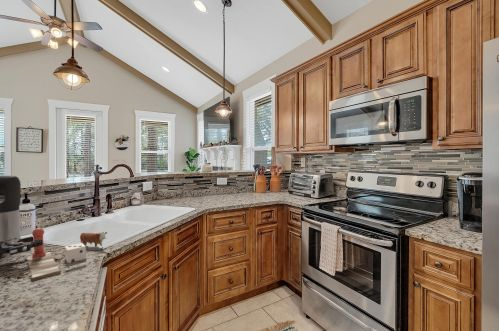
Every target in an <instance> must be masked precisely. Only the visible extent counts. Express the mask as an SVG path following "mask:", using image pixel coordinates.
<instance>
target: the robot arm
mask: <svg viewBox="0 0 499 331" xmlns="http://www.w3.org/2000/svg"><path fill="white" fill-rule="evenodd" d="M21 186H22V185H21V181H20V179H19V177H18V176H16V175H0V197H4V200H3V201H2V202H0V260H2V258H3V255H5V254H8V255H9V256H14V255H17V254H18V255H19V254H22V253H26V252H30V251H31V250H32V249H34V247H37V246H41V245H42V244H43V245H44V240H43V241H42V240H37V241H34V236H33V235H31V236H28V237H27V236H25V237H23V238H22V237H21V234H22V233H21V216H20V215H21V214H20V205H21V192H22V191H21V189H22V187H21Z"/></svg>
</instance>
